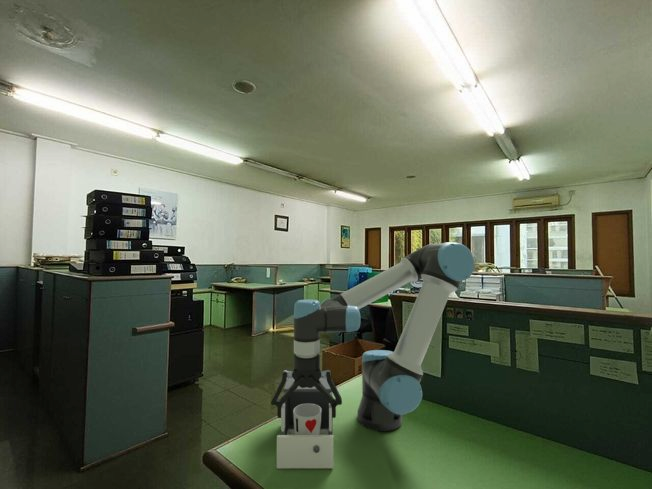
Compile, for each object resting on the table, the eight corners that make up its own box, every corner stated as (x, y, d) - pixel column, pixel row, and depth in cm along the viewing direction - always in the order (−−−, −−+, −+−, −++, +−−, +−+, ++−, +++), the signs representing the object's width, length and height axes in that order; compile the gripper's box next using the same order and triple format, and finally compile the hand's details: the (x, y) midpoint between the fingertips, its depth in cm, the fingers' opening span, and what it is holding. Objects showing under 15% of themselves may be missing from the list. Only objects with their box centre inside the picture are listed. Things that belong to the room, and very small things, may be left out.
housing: (287, 422, 104) (287, 377, 104) (331, 422, 104) (331, 377, 104) (281, 447, 90) (281, 395, 91) (332, 447, 90) (332, 395, 91)
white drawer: (283, 437, 95) (284, 410, 95) (332, 437, 95) (332, 410, 95) (276, 469, 80) (276, 438, 80) (333, 469, 80) (333, 438, 80)
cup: (289, 452, 85) (289, 415, 85) (297, 435, 93) (297, 402, 93) (318, 456, 83) (317, 418, 84) (324, 439, 91) (324, 404, 91)
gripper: (348, 349, 93) (349, 421, 92) (266, 350, 93) (265, 421, 92) (350, 358, 85) (351, 436, 84) (261, 358, 85) (260, 436, 84)
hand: (306, 428), depth 88 cm, fingers open, 13 cm apart
